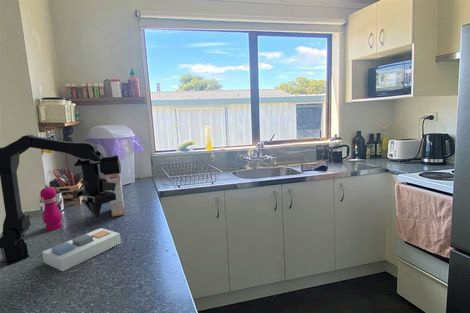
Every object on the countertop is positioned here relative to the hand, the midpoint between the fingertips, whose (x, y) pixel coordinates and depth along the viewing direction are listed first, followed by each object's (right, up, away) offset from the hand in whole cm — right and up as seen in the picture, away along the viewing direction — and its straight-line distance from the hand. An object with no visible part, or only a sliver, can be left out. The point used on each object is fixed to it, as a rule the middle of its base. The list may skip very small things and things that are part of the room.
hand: (97, 217), depth 111 cm
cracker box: (-7, -5, +39) cm, 40 cm away
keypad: (-3, -12, -4) cm, 13 cm away
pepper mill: (-30, -9, +23) cm, 39 cm away
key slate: (-7, -10, -10) cm, 16 cm away
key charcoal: (-3, -9, -4) cm, 11 cm away
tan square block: (+1, -9, +2) cm, 10 cm away
